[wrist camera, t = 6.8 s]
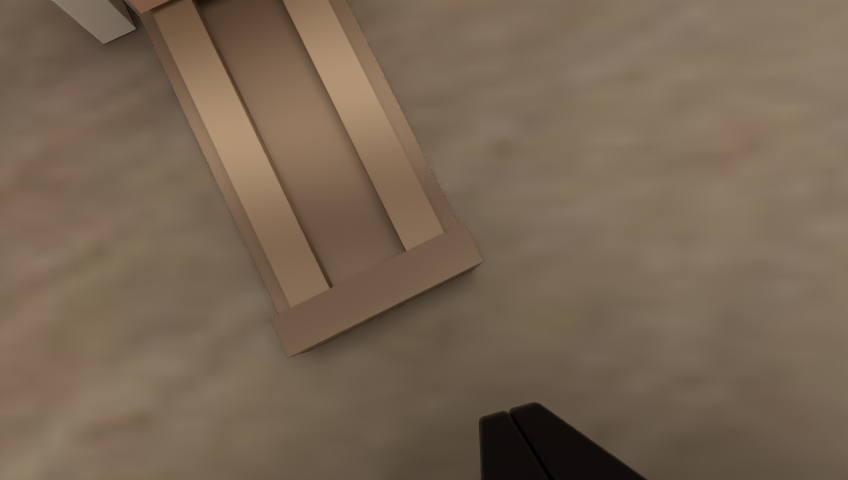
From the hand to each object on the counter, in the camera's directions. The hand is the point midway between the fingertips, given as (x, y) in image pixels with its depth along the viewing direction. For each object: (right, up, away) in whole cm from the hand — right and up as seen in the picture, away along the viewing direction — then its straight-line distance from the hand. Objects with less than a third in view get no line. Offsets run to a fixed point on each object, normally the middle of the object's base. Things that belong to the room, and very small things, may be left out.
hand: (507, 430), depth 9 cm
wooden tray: (-6, +8, +10) cm, 14 cm away
